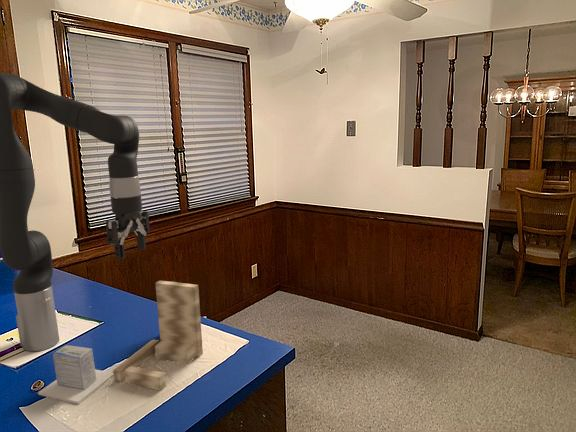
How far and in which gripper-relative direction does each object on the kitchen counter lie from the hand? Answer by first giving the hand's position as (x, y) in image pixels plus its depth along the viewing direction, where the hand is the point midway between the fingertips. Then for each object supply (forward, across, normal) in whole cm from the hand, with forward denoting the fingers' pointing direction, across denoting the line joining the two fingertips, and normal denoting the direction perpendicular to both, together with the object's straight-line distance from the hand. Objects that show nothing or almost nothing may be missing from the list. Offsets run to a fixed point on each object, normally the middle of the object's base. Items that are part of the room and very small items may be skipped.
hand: (131, 253), depth 116 cm
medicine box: (+28, +19, -4) cm, 34 cm away
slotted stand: (+28, +6, +11) cm, 31 cm away
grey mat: (+28, +19, -4) cm, 34 cm away
